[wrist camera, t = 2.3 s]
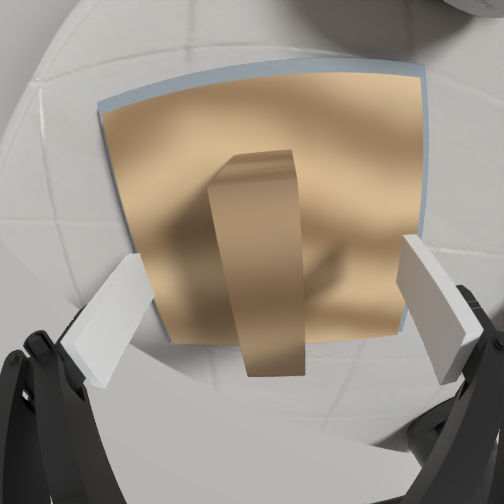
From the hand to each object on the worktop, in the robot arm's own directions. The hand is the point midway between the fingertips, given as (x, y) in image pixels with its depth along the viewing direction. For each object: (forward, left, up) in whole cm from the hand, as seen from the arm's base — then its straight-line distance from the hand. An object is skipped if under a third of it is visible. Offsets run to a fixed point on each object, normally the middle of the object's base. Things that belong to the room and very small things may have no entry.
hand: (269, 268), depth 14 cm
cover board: (0, 0, -5) cm, 5 cm away
